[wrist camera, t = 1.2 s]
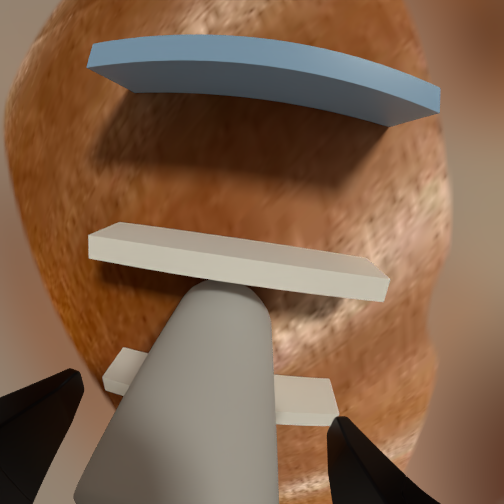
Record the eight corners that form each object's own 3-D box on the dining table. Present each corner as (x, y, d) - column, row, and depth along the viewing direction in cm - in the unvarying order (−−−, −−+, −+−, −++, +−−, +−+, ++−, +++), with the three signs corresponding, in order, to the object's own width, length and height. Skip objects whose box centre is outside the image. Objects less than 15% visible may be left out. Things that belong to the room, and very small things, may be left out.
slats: (324, 390, 16) (338, 446, 12) (124, 360, 16) (94, 407, 11) (391, 108, 12) (440, 88, 7) (138, 74, 11) (93, 44, 7)
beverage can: (187, 357, 15) (119, 556, 4) (169, 277, 14) (21, 484, 3) (274, 353, 15) (281, 578, 4) (267, 270, 14) (275, 546, 2)
